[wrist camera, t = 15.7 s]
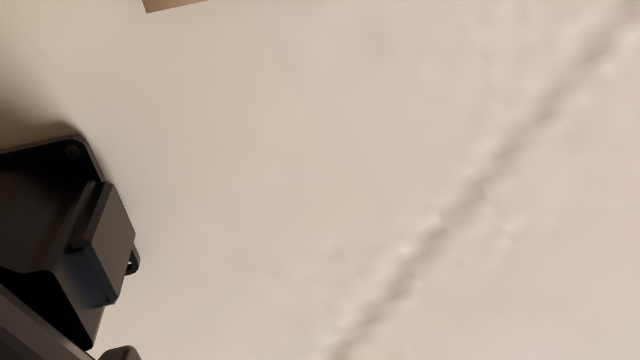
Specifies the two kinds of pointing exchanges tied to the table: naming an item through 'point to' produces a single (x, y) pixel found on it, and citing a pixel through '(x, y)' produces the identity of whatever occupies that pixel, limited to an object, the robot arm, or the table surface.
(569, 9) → the table surface
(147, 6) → the tag board
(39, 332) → the robot arm
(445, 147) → the table surface
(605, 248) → the table surface
